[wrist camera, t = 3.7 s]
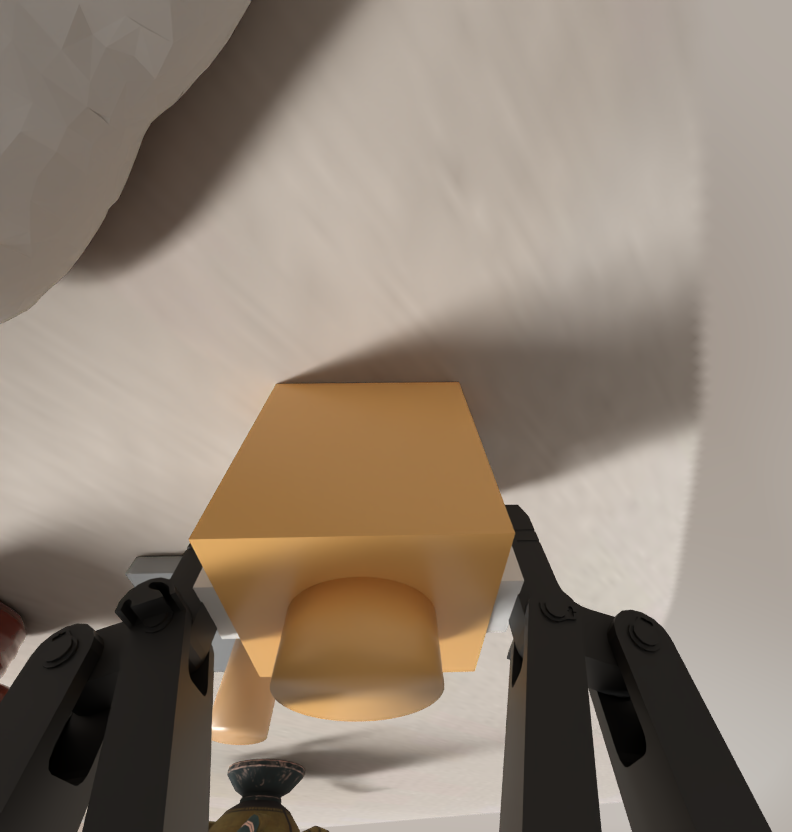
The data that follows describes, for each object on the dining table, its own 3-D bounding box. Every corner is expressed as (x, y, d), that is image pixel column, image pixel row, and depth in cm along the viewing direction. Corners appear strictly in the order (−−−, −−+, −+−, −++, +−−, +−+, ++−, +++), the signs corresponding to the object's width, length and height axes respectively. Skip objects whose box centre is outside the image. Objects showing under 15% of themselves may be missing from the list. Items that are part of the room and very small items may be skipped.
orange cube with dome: (276, 384, 13) (144, 617, 6) (458, 381, 13) (543, 607, 6) (303, 509, 17) (242, 743, 10) (444, 507, 17) (486, 735, 10)
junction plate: (136, 556, 19) (46, 691, 14) (358, 552, 19) (347, 683, 14) (204, 656, 25) (159, 771, 20) (367, 652, 26) (363, 765, 21)
